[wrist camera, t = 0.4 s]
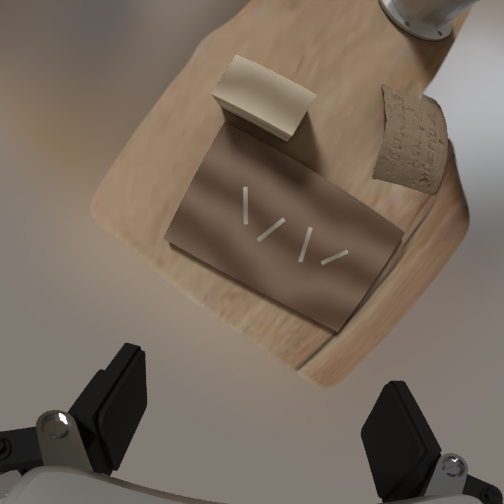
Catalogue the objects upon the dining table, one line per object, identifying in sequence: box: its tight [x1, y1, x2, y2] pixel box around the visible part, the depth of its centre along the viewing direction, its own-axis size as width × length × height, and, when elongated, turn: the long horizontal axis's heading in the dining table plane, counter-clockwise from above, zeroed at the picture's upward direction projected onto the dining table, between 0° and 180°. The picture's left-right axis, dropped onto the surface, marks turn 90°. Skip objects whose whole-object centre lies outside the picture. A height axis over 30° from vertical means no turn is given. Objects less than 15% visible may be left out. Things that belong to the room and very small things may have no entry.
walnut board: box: [164, 122, 405, 332], centre depth 37 cm, size 16×26×2 cm, turn 61°
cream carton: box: [211, 54, 316, 143], centre depth 30 cm, size 5×9×8 cm, turn 60°
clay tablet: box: [372, 85, 448, 195], centre depth 33 cm, size 14×10×3 cm
